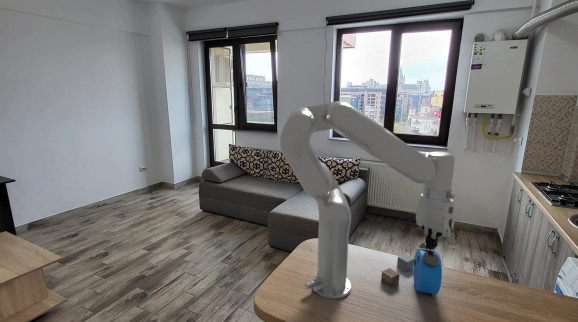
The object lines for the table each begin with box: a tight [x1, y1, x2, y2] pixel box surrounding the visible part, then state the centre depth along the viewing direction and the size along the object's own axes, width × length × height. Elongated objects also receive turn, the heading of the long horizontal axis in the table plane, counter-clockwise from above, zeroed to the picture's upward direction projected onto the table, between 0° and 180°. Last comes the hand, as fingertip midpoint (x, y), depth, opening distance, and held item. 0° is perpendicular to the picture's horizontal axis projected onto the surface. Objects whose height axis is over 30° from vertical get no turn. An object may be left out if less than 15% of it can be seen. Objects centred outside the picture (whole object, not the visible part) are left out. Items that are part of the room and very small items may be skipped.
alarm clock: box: [412, 241, 443, 298], centre depth 94 cm, size 13×6×15 cm, turn 165°
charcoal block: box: [396, 253, 415, 273], centre depth 107 cm, size 4×4×4 cm
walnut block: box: [380, 267, 401, 289], centre depth 98 cm, size 4×4×4 cm
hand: (430, 247), depth 92 cm, fingers closed
